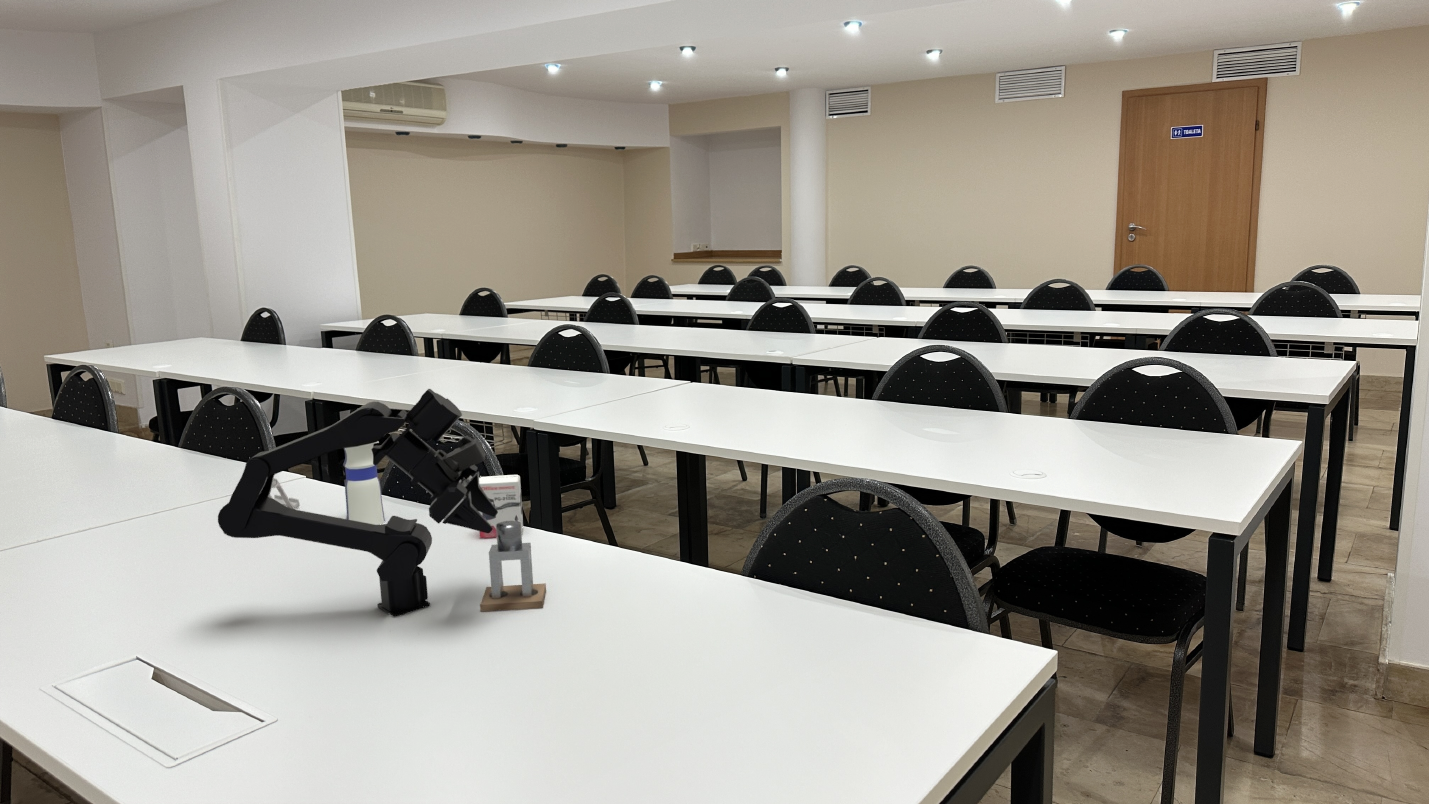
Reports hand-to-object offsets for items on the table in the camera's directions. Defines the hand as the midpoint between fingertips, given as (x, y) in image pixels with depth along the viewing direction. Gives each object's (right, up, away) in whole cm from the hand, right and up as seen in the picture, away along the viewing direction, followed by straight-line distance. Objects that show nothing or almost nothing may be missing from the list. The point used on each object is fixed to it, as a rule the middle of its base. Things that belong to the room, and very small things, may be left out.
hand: (493, 522), depth 159 cm
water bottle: (-39, -6, +48) cm, 62 cm away
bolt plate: (+3, -13, +2) cm, 14 cm away
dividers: (+3, -12, +2) cm, 13 cm away
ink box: (-7, -7, +38) cm, 39 cm away
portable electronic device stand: (-64, -5, +60) cm, 87 cm away
